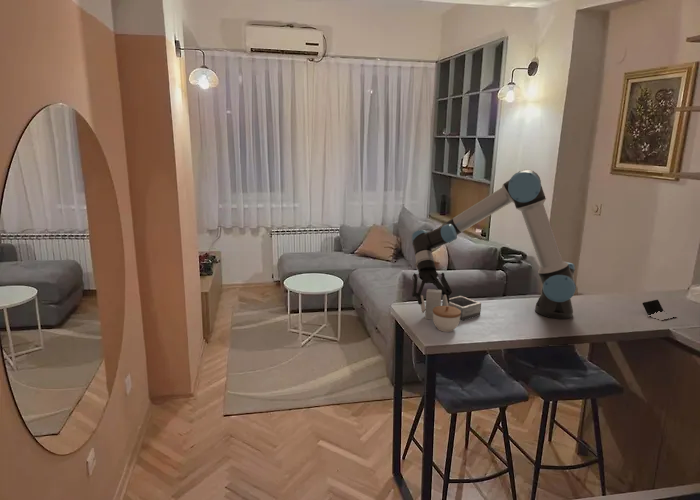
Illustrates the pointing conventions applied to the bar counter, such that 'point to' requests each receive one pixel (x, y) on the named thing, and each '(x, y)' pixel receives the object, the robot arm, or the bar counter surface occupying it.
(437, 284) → the robot arm
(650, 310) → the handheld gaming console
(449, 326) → the lidded jar
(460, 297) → the housing
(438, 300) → the skincare box
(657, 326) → the bar counter surface
